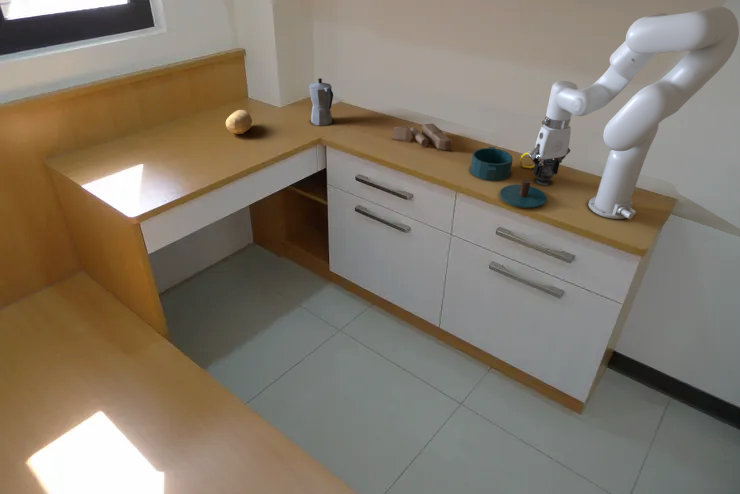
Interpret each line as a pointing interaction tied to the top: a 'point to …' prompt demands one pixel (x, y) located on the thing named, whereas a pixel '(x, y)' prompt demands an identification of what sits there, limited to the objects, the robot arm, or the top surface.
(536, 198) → the pan lid
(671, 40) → the robot arm
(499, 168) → the pan
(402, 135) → the wooden block set
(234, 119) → the potato
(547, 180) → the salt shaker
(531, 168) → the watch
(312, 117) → the coffeepot
